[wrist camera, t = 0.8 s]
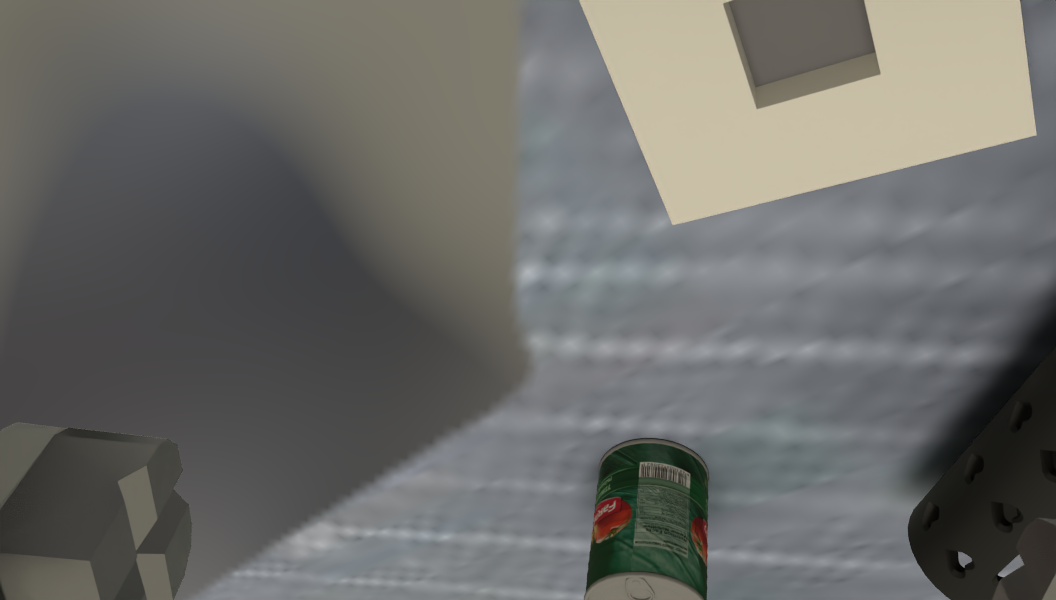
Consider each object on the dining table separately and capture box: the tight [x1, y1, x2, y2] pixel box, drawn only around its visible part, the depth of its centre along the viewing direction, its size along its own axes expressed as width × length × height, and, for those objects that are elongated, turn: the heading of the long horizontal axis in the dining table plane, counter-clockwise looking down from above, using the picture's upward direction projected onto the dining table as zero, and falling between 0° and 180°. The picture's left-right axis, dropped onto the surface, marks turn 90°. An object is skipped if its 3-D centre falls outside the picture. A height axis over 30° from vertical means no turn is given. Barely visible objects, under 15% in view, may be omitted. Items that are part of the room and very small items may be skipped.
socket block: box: [579, 0, 1036, 225], centre depth 44 cm, size 17×16×4 cm
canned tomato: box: [584, 439, 709, 600], centre depth 66 cm, size 8×8×11 cm
